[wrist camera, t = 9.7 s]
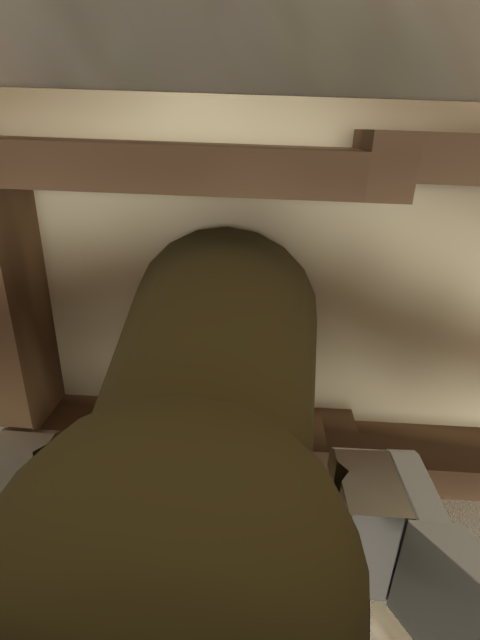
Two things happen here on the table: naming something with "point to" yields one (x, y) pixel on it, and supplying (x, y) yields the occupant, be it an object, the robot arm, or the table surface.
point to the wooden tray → (268, 220)
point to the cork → (191, 472)
